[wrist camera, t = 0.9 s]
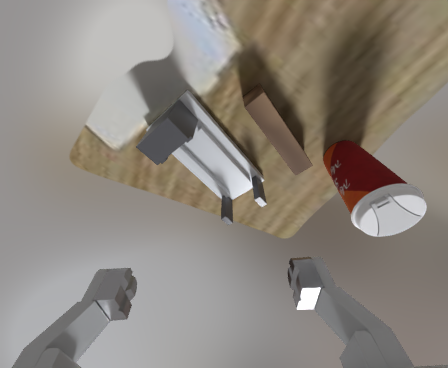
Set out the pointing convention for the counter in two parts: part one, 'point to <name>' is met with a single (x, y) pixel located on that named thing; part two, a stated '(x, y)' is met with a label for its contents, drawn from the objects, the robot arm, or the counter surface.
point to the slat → (276, 129)
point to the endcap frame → (203, 152)
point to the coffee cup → (373, 191)
